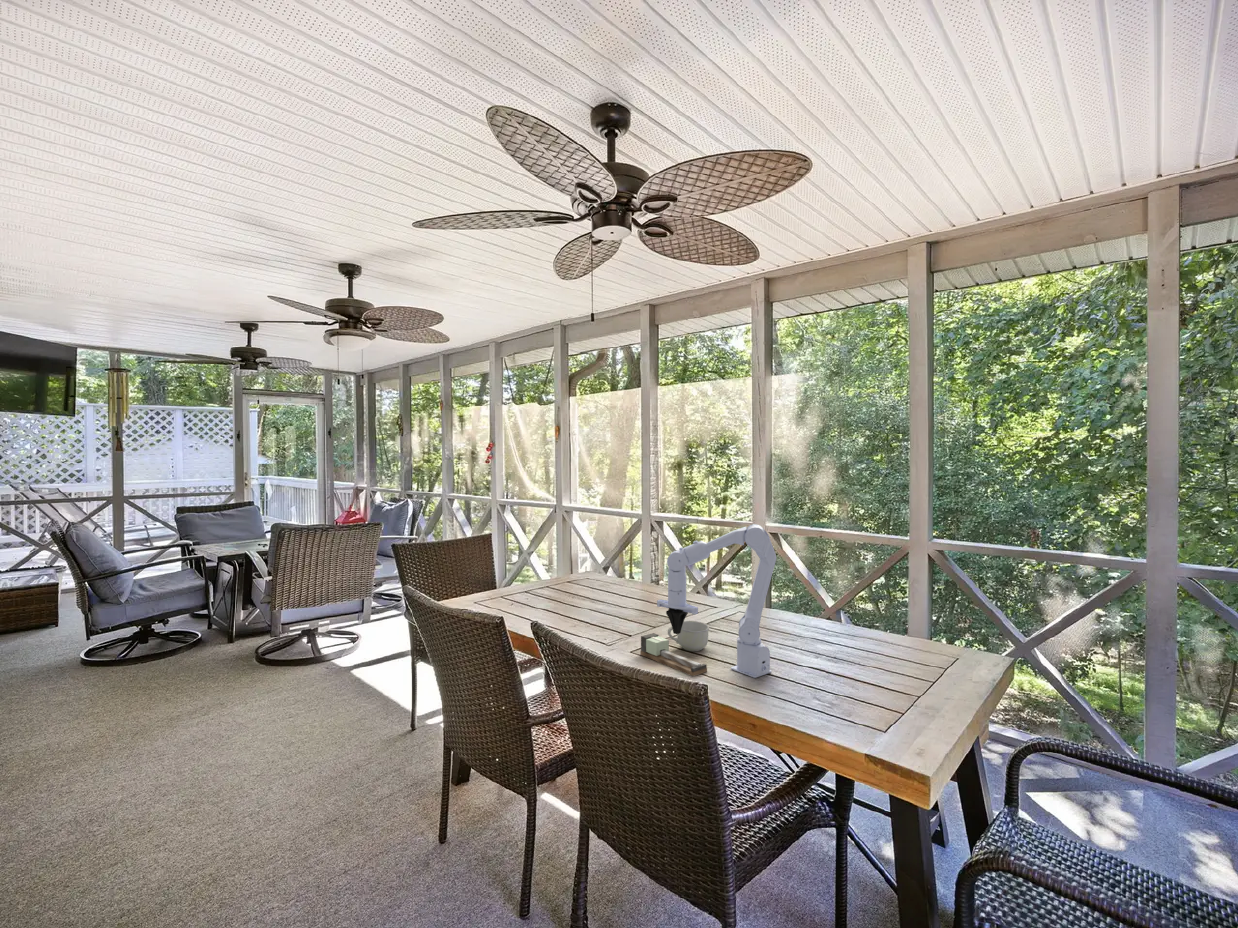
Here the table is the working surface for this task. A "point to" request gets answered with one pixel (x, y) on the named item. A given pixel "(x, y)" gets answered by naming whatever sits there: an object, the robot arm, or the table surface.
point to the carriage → (656, 645)
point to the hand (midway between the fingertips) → (677, 633)
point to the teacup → (692, 635)
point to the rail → (672, 664)
